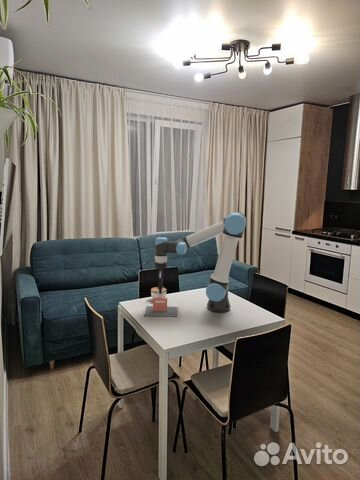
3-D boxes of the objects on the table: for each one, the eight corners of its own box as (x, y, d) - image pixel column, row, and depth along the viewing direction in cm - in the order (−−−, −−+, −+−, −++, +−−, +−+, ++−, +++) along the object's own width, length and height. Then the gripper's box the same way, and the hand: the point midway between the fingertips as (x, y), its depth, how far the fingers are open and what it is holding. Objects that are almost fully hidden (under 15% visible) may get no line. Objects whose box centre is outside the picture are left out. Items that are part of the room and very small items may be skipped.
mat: (177, 307, 212) (177, 306, 212) (177, 317, 196) (177, 316, 196) (146, 307, 211) (146, 306, 211) (144, 316, 196) (144, 315, 195)
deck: (152, 309, 206) (153, 297, 204) (167, 309, 206) (167, 297, 204) (152, 310, 203) (152, 298, 202) (167, 311, 203) (167, 298, 202)
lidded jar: (169, 299, 227) (169, 286, 226) (160, 303, 218) (160, 290, 217) (156, 296, 233) (157, 283, 231) (147, 300, 224) (147, 287, 222)
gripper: (155, 259, 210) (155, 294, 213) (154, 264, 197) (153, 301, 201) (167, 259, 210) (166, 294, 213) (166, 264, 197) (165, 301, 201)
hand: (160, 298), depth 207 cm, fingers closed
